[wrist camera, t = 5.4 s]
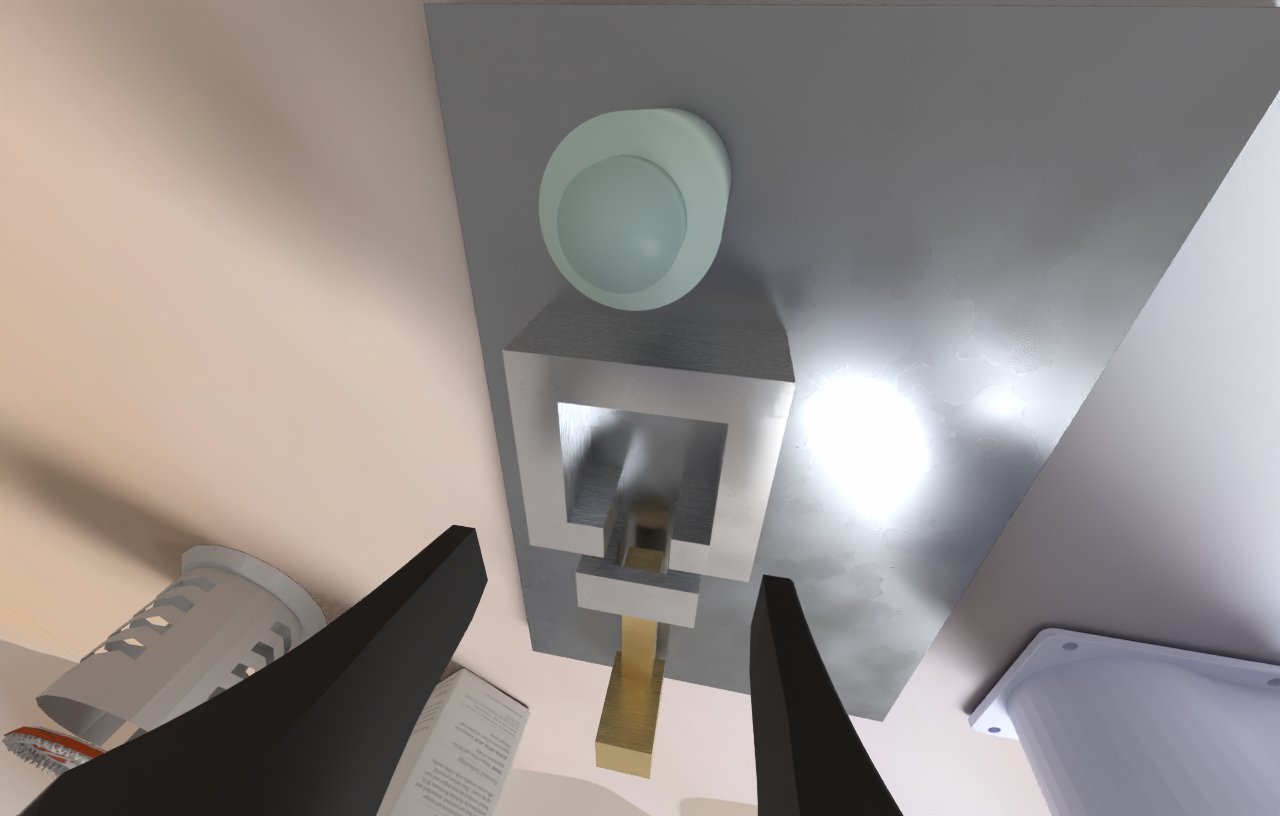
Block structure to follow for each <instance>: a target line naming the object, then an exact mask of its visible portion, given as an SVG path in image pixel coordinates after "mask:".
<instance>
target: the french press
mask: <svg viewBox="0 0 1280 816" xmlns="http://www.w3.org/2000/svg"><path fill="white" fill-rule="evenodd" d="M153 603H154V605H153V607H152V608H150V609H148V610H146V611H145V609H146V608H147V607H149V606H150V605H152V604H153ZM154 616H160V617H162V618H163V619H164V620H166V621H167V622H169V624H168V625H166V626H165V627H164V626H158V625H153V624H151V623H150V622H149V621H147V620H146V619H145V618H149V617H154ZM130 623H131V624H130ZM128 624H130V627H129V629H125V630H123V631H122V632H121V629H122V628H124V627H125V626H127V625H128ZM326 626H327V622H326V619H325V616H324V613H323V610H322V609H321V608H320V606H319V605H318V604H317V603H316V602H315V601H314V599H313V598H312V597H311V596H310V595H309V593H308V592H307V591H306V590H305V589H304V588H302V587H301V586H300V585H299V584H297V583H296V582H295V581H293V580H292V579H291V578H289V577H288V576H287V575H285V574H284V573H283V572H282V571H280V570H279V569H277V568H275V567H273V566H271V565H269V564H267V563H265V562H263V561H261V560H259V559H257V558H255V557H253V556H251V555H249V554H247V553H243V552H240V551H236V550H233V549H230V548H226V547H223V546H219V545H195V546H193V547H192V548H190V549H189V550H187V551H186V552H184V553H182V565H181V576H180V577H179V578H178V579H177V580H175V581H174V582H173V583H172V584H171V585H170V586H168V587H167V588H166V589H165V590H164V591H162V592H161V593H160V594H159V595H158V596H157V597H156V599H155V600H153V601H152V602H150V603H149V604H148V605H146V606H145V607H144V608H143V609H141V610H140V611H139V612H138V613H136V614H135V615H134V616H133V618H132V619H131V620H129V621H128V622H127V623H125V624H124V625H122V626H121V627H120V628H119V629H117V630H116V631H115V632H114V633H112V634H111V635H110V636H109V637H108V639H107V640H106V641H105V642H103V643H102V644H100V645H99V646H98V647H96V648H95V649H94V650H93V651H91V652H90V653H89V654H88V655H86V656H85V657H84V658H83V659H81V661H80V663H79V664H78V665H76V666H75V667H73V668H72V669H70V670H69V671H67V672H66V673H65V674H63V676H61V677H60V678H59V679H58V680H56V681H55V682H54V683H53V684H52V685H51V686H49V687H48V688H47V689H46V690H45V691H44V692H43V693H42V694H40V695H39V696H38V697H37V698H36V701H37V703H38V706H39V707H40V708H41V709H42V710H43V711H44V712H45V713H46V714H47V715H48V716H49V717H50V718H51V719H53V720H54V721H55V722H57V723H58V724H59V725H61V726H62V727H64V728H65V729H67V730H68V731H70V732H72V733H73V734H75V735H76V736H78V737H79V738H82V739H84V740H86V741H88V742H91V743H92V744H90V743H88V742H85V741H83V740H81V739H78V738H76V737H73V736H70V735H66V734H63V733H60V732H57V731H53V730H50V729H47V728H43V727H21V728H19V729H16V730H14V731H12V732H9V733H7V734H5V735H4V736H5V739H3V740H2V742H3V743H4V744H5V745H6V746H7V748H8V751H13V754H16V753H17V756H20V758H21V759H23V758H25V760H24V762H26V761H28V760H30V759H32V760H33V761H32V762H31V763H29V764H34V763H36V762H37V763H39V764H37V765H36V768H39V767H40V766H41V765H42V766H44V768H43V769H42V770H41V772H42V771H44V770H45V769H46V768H48V769H49V770H50V771H49V772H47V775H48V774H49V773H50V772H52V771H53V772H55V773H56V774H55V775H54V776H53V777H56V776H57V775H59V774H60V775H61V774H63V773H64V772H65V771H68V770H70V769H72V768H74V767H76V766H79V765H81V764H83V763H85V762H87V761H89V760H91V759H93V758H95V757H97V756H99V755H102V754H104V753H106V752H108V751H105V750H103V749H101V748H99V747H97V746H100V747H101V746H102V745H103V744H104V743H105V742H106V741H107V740H108V739H109V738H110V737H111V736H112V735H113V734H114V733H115V732H116V731H117V730H118V729H119V728H120V727H121V726H122V725H123V724H124V723H125V722H126V721H129V722H131V723H133V724H135V725H136V726H138V727H140V728H139V729H138V730H137V731H136V732H135V733H134V734H133V735H132V736H131V737H130V738H129V739H128V740H127V742H129V741H131V740H133V739H135V738H137V737H139V736H141V735H143V734H145V733H147V732H149V731H151V730H153V729H155V728H157V727H159V726H161V725H163V724H165V723H166V722H168V721H170V720H172V719H174V718H176V717H178V716H180V715H182V714H184V713H186V712H187V711H189V710H191V709H193V708H195V707H197V706H198V705H200V704H202V703H204V702H206V701H208V700H209V699H211V698H213V697H215V696H217V695H218V694H220V693H222V692H224V691H225V690H227V689H229V688H230V687H232V686H234V685H235V684H237V683H239V682H240V681H242V680H244V679H245V678H247V677H249V676H248V674H247V673H246V672H245V671H246V670H247V669H248V668H249V667H251V668H253V669H255V672H257V671H259V670H260V669H262V668H264V667H265V666H267V665H269V664H270V663H272V662H273V661H275V660H277V659H278V658H280V657H281V656H283V655H285V654H286V653H288V652H289V651H291V650H292V649H294V648H295V647H297V646H298V645H300V644H301V643H303V642H304V641H306V640H307V639H309V638H310V637H311V636H313V635H314V634H316V633H317V632H319V631H320V630H321V629H323V628H324V627H326ZM130 638H134V639H136V640H137V641H138V642H140V643H141V644H142V645H144V646H136V645H130V644H128V643H126V642H125V641H123V640H125V639H130ZM105 644H106V645H105ZM104 645H105V648H104V649H105V650H107V651H109V652H105V653H99V654H94V652H95V651H96V650H98V649H99V648H101V647H102V646H104ZM127 742H125V743H127ZM125 743H124V744H125ZM96 745H97V746H96ZM16 750H18V751H17V752H16ZM20 753H21V754H20ZM60 775H59V776H60ZM59 776H58V777H59ZM58 777H57V778H58ZM57 778H56V779H57ZM56 779H55V780H56ZM55 780H54V781H55ZM54 781H53V782H54ZM53 782H52V783H53ZM52 783H51V784H52ZM51 784H50V785H51ZM50 785H49V786H50ZM49 786H47V787H46V789H47V788H48V787H49ZM46 789H44V790H43V791H42V792H41V793H40V794H39V795H38V796H37V797H36V798H35V799H34V800H33V801H32V802H31V803H30V804H29V805H28V806H27V807H26V808H25V809H24V810H23V811H22V812H21V813H20V814H18V815H17V816H20V815H21V814H22V813H23V812H24V811H25V810H26V809H27V808H28V807H29V806H30V805H31V804H32V803H33V802H34V801H35V800H36V799H37V798H38V797H39V796H40V795H41V794H42V793H43V792H44V791H45V790H46Z"/></svg>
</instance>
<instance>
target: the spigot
mask: <svg viewBox="0 0 1280 816" xmlns="http://www.w3.org/2000/svg"><path fill="white" fill-rule="evenodd" d="M730 186H731V166H730V160H729V156H728V153H727V150H726V147H725V145H724V143H723V141H722V139H721V138H720V136H719V134H718V133H717V132H716V130H715V129H714V128H713V127H712V126H711V125H710V124H709V123H708V122H707V121H706V120H704V119H703V118H701V117H700V116H698V115H696V114H694V113H692V112H690V111H686V110H683V109H677V108H660V109H644V110H628V111H615V112H610V113H605V114H602V115H599V116H597V117H594V118H591V119H589V120H588V121H586V122H584V123H582V124H581V125H579V126H578V127H577V128H575V129H574V130H573V131H571V132H570V133H569V134H568V135H567V136H566V137H565V138H564V139H563V140H562V142H561V143H560V144H559V145H558V147H557V148H556V150H555V151H554V153H553V154H552V156H551V158H550V160H549V162H548V164H547V166H546V169H545V172H544V175H543V178H542V182H541V187H540V194H539V219H540V226H541V230H542V234H543V238H544V241H545V244H546V246H547V249H548V252H549V253H550V255H551V257H552V259H553V261H554V263H555V264H556V266H557V267H558V269H559V270H560V272H561V273H562V274H563V275H564V277H565V278H566V279H567V280H568V281H569V282H570V283H571V284H572V285H573V286H574V287H575V288H576V289H578V290H579V291H580V292H582V293H583V294H584V295H586V296H587V297H589V298H591V299H593V300H594V301H596V302H598V303H601V304H603V305H605V306H609V307H612V308H616V309H621V310H628V311H641V310H650V309H655V308H659V307H662V306H665V305H667V304H670V303H672V302H674V301H676V300H677V299H679V298H681V297H682V296H684V295H685V294H687V293H688V292H689V291H690V290H691V289H692V288H694V287H695V286H696V285H697V284H698V283H699V281H700V280H701V279H702V278H703V277H704V275H705V274H706V272H707V271H708V269H709V268H710V266H711V264H712V262H713V260H714V258H715V256H716V254H717V251H718V248H719V245H720V241H721V236H722V231H723V225H724V220H725V214H726V208H727V203H728V197H729V192H730Z"/></svg>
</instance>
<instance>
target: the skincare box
mask: <svg viewBox="0 0 1280 816" xmlns="http://www.w3.org/2000/svg"><path fill="white" fill-rule="evenodd" d="M529 716H530V712H529V710H528V709H527V708H526V707H524V706H523V705H521V704H520V703H518V702H517V701H515V700H514V699H512V698H510V697H509V696H507V695H506V694H504V693H503V692H501V691H499V690H498V689H496V688H495V687H493V686H492V685H490V684H489V683H487V682H486V681H484V680H483V679H481V678H480V677H478V676H476V675H475V674H473V673H472V672H470V671H468V670H467V669H464V668H462V669H461V670H459V671H457V672H456V673H454V674H453V675H451V676H450V677H448V678H447V679H445V680H443V681H442V682H440V683H439V684H437V685H436V687H435V689H434V690H433V692H432V694H431V696H430V698H429V700H428V701H427V703H426V705H425V707H424V709H423V711H422V713H421V715H420V717H419V719H418V721H417V723H416V725H415V727H414V729H413V731H412V733H411V736H410V738H409V740H408V742H407V745H406V747H405V749H404V751H403V754H402V756H401V758H400V760H399V763H398V765H397V767H396V770H395V772H394V774H393V777H392V779H391V781H390V784H389V786H388V789H387V791H386V793H385V796H384V798H383V801H382V803H381V805H380V808H379V810H378V813H377V815H376V816H494V813H495V810H496V808H497V804H498V802H499V799H500V796H501V794H502V791H503V788H504V785H505V782H506V780H507V777H508V775H509V772H510V769H511V766H512V763H513V761H514V758H515V755H516V753H517V750H518V747H519V744H520V742H521V739H522V736H523V733H524V730H525V728H526V725H527V722H528V719H529Z"/></svg>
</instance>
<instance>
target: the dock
mask: <svg viewBox="0 0 1280 816" xmlns="http://www.w3.org/2000/svg"><path fill="white" fill-rule="evenodd" d="M424 9H425V15H426V21H427V27H428V33H429V38H430V44H431V50H432V56H433V62H434V68H435V74H436V80H437V86H438V92H439V98H440V104H441V110H442V116H443V122H444V127H445V133H446V139H447V145H448V151H449V157H450V163H451V169H452V175H453V181H454V187H455V193H456V199H457V205H458V210H459V216H460V222H461V228H462V234H463V240H464V246H465V252H466V258H467V264H468V270H469V276H470V282H471V288H472V294H473V299H474V305H475V311H476V317H477V323H478V329H479V335H480V341H481V347H482V353H483V359H484V365H485V371H486V377H487V383H488V388H489V394H490V400H491V406H492V412H493V418H494V424H495V430H496V436H497V442H498V448H499V454H500V460H501V466H502V471H503V477H504V483H505V489H506V495H507V501H508V507H509V513H510V519H511V525H512V531H513V537H514V543H515V549H516V555H517V560H518V566H519V572H520V578H521V584H522V590H523V596H524V602H525V608H526V614H527V620H528V626H529V632H530V638H531V644H532V649H533V651H536V652H541V653H546V654H551V655H556V656H561V657H566V658H571V659H576V660H581V661H586V662H591V663H595V664H600V665H605V666H610V667H613V664H614V660H615V656H616V651H620V652H622V615H625V616H630V617H635V618H641V619H646V620H651V621H657V622H658V629H657V641H656V654H655V658H656V659H661V660H665V669H664V678H669V679H674V680H679V681H684V682H689V683H694V684H699V685H704V686H709V687H714V688H719V689H724V690H729V691H734V692H738V693H743V694H748V695H751V689H750V674H749V666H750V629H751V623H752V619H753V614H754V610H755V606H756V602H757V598H758V594H759V589H760V585H761V581H762V577H763V574H765V575H771V576H777V577H783V578H790V579H791V580H792V581H793V582H794V585H795V588H796V592H797V595H798V598H799V601H800V604H801V607H802V610H803V613H804V616H805V618H806V621H807V624H808V626H809V629H810V632H811V634H812V637H813V639H814V642H815V644H816V647H817V649H818V651H819V654H820V656H821V658H822V661H823V663H824V665H825V668H826V670H827V672H828V674H829V677H830V679H831V681H832V683H833V686H834V688H835V690H836V692H837V694H838V696H839V698H840V700H841V703H842V705H843V707H844V709H845V711H846V713H847V715H852V716H857V717H862V718H867V719H872V720H876V721H881V722H883V720H884V719H885V717H886V715H887V714H888V712H889V711H890V709H891V707H892V706H893V704H894V703H895V701H896V699H897V698H898V696H899V695H900V693H901V691H902V690H903V688H904V687H905V685H906V684H907V682H908V680H909V679H910V677H911V676H912V674H913V672H914V671H915V669H916V668H917V666H918V664H919V663H920V661H921V660H922V658H923V656H924V655H925V653H926V652H927V650H928V649H929V647H930V645H931V644H932V642H933V641H934V639H935V637H936V636H937V634H938V633H939V631H940V629H941V628H942V626H943V625H944V623H945V621H946V620H947V618H948V617H949V615H950V614H951V612H952V610H953V609H954V607H955V606H956V604H957V602H958V601H959V599H960V598H961V596H962V594H963V593H964V591H965V590H966V588H967V586H968V585H969V583H970V582H971V580H972V579H973V577H974V575H975V574H976V572H977V571H978V569H979V567H980V566H981V564H982V563H983V561H984V559H985V558H986V556H987V555H988V553H989V552H990V550H991V548H992V547H993V545H994V544H995V542H996V540H997V539H998V537H999V536H1000V534H1001V532H1002V531H1003V529H1004V528H1005V526H1006V524H1007V523H1008V521H1009V520H1010V518H1011V517H1012V515H1013V513H1014V512H1015V510H1016V509H1017V507H1018V505H1019V504H1020V502H1021V501H1022V499H1023V497H1024V496H1025V494H1026V493H1027V491H1028V489H1029V488H1030V486H1031V485H1032V483H1033V482H1034V480H1035V478H1036V477H1037V475H1038V474H1039V472H1040V470H1041V469H1042V467H1043V466H1044V464H1045V462H1046V461H1047V459H1048V458H1049V456H1050V454H1051V453H1052V451H1053V450H1054V448H1055V447H1056V445H1057V443H1058V442H1059V440H1060V439H1061V437H1062V435H1063V434H1064V432H1065V431H1066V429H1067V427H1068V426H1069V424H1070V423H1071V421H1072V419H1073V418H1074V416H1075V415H1076V413H1077V412H1078V410H1079V408H1080V407H1081V405H1082V404H1083V402H1084V400H1085V399H1086V397H1087V396H1088V394H1089V392H1090V391H1091V389H1092V388H1093V386H1094V384H1095V383H1096V381H1097V380H1098V378H1099V377H1100V375H1101V373H1102V372H1103V370H1104V369H1105V367H1106V365H1107V364H1108V362H1109V361H1110V359H1111V357H1112V356H1113V354H1114V353H1115V351H1116V349H1117V348H1118V346H1119V345H1120V343H1121V342H1122V340H1123V338H1124V337H1125V335H1126V334H1127V332H1128V330H1129V329H1130V327H1131V326H1132V324H1133V322H1134V321H1135V319H1136V318H1137V316H1138V314H1139V313H1140V311H1141V310H1142V308H1143V307H1144V305H1145V303H1146V302H1147V300H1148V299H1149V297H1150V295H1151V294H1152V292H1153V291H1154V289H1155V287H1156V286H1157V284H1158V283H1159V281H1160V279H1161V278H1162V276H1163V275H1164V273H1165V272H1166V270H1167V268H1168V267H1169V265H1170V264H1171V262H1172V260H1173V259H1174V257H1175V256H1176V254H1177V252H1178V251H1179V249H1180V248H1181V246H1182V245H1183V243H1184V241H1185V240H1186V238H1187V237H1188V235H1189V233H1190V232H1191V230H1192V229H1193V227H1194V225H1195V224H1196V222H1197V221H1198V219H1199V217H1200V216H1201V214H1202V213H1203V211H1204V210H1205V208H1206V206H1207V205H1208V203H1209V202H1210V200H1211V198H1212V197H1213V195H1214V194H1215V192H1216V190H1217V189H1218V187H1219V186H1220V184H1221V182H1222V181H1223V179H1224V178H1225V176H1226V175H1227V173H1228V171H1229V170H1230V168H1231V167H1232V165H1233V163H1234V162H1235V160H1236V159H1237V157H1238V155H1239V154H1240V152H1241V151H1242V149H1243V147H1244V146H1245V144H1246V143H1247V141H1248V140H1249V138H1250V136H1251V135H1252V133H1253V132H1254V130H1255V128H1256V127H1257V125H1258V124H1259V122H1260V120H1261V119H1262V117H1263V116H1264V114H1265V112H1266V111H1267V109H1268V108H1269V106H1270V105H1271V103H1272V101H1273V100H1274V98H1275V97H1276V95H1277V93H1278V92H1279V90H1280V7H1120V6H879V5H639V4H424ZM660 108H677V109H683V110H686V111H690V112H692V113H694V114H696V115H698V116H700V117H701V118H703V119H704V120H706V121H707V122H708V123H709V124H710V125H711V126H712V127H713V128H714V129H715V130H716V132H717V133H718V134H719V136H720V138H721V139H722V141H723V143H724V145H725V147H726V150H727V153H728V156H729V160H730V166H731V186H730V192H729V197H728V203H727V208H726V214H725V220H724V225H723V231H722V236H721V241H720V245H719V248H718V251H717V254H716V256H715V258H714V260H713V262H712V264H711V266H710V268H709V269H708V271H707V272H706V274H705V275H704V277H703V278H702V279H701V280H700V281H699V283H698V284H697V285H696V286H695V287H694V288H692V289H691V290H690V291H689V292H688V293H687V294H685V295H684V296H682V297H681V298H679V299H677V300H676V301H674V302H672V303H670V304H667V305H665V306H662V307H659V308H655V309H650V310H641V311H628V310H621V309H616V308H612V307H609V306H605V305H603V304H601V303H598V302H596V301H594V300H593V299H591V298H589V297H587V296H586V295H584V294H583V293H582V292H580V291H579V290H578V289H576V288H575V287H574V286H573V285H572V284H571V283H570V282H569V281H568V280H567V279H566V278H565V277H564V275H563V274H562V273H561V272H560V270H559V269H558V267H557V266H556V264H555V263H554V261H553V259H552V257H551V255H550V253H549V252H548V249H547V246H546V244H545V241H544V238H543V234H542V230H541V226H540V219H539V194H540V187H541V182H542V178H543V175H544V172H545V169H546V166H547V164H548V162H549V160H550V158H551V156H552V154H553V153H554V151H555V150H556V148H557V147H558V145H559V144H560V143H561V142H562V140H563V139H564V138H565V137H566V136H567V135H568V134H569V133H570V132H571V131H573V130H574V129H575V128H577V127H578V126H579V125H581V124H582V123H584V122H586V121H588V120H589V119H591V118H594V117H597V116H599V115H602V114H605V113H610V112H615V111H628V110H644V109H660ZM629 546H632V547H638V548H644V549H650V550H656V551H662V552H664V554H663V567H662V573H658V572H652V571H646V570H640V569H635V568H629V567H624V563H625V559H626V556H627V552H628V548H629Z"/></svg>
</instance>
